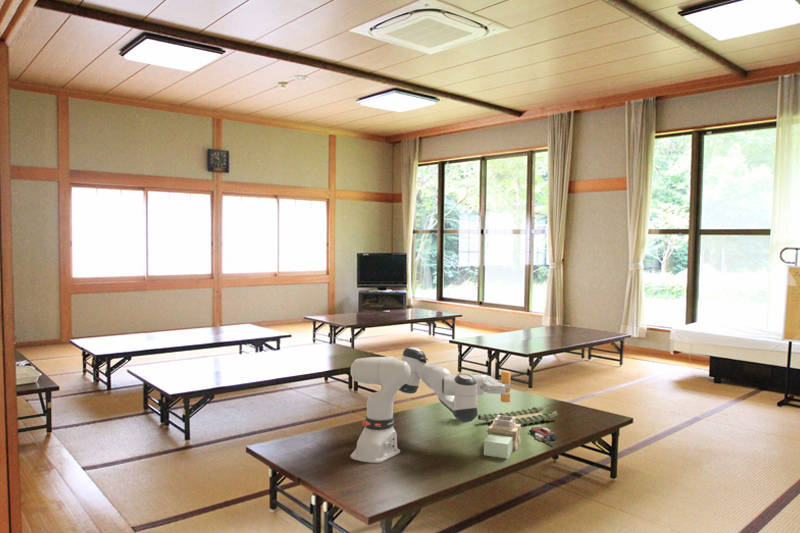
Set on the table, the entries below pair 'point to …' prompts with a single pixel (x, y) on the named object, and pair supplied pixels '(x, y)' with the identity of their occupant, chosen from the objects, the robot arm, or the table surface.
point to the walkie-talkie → (543, 434)
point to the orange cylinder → (506, 396)
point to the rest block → (498, 446)
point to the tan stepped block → (506, 429)
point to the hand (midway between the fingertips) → (507, 384)
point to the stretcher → (522, 416)
